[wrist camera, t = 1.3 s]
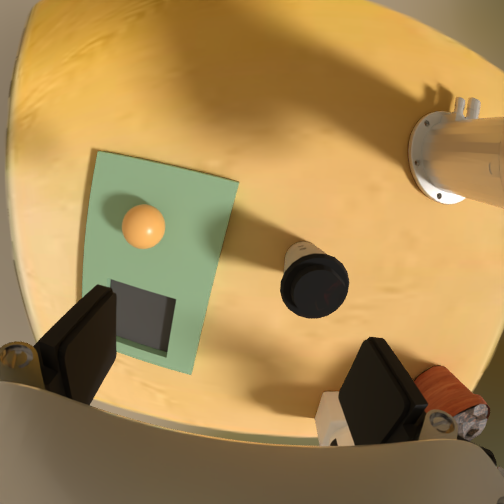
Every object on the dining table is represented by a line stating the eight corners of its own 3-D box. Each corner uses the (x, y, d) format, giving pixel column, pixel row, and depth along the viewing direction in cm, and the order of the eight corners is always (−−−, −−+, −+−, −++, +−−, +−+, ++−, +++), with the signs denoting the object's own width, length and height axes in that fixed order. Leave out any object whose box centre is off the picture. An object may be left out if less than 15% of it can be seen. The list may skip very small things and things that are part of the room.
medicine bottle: (351, 416, 46) (367, 467, 34) (313, 418, 46) (323, 472, 34) (363, 389, 44) (383, 442, 32) (322, 390, 44) (336, 447, 32)
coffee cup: (269, 280, 38) (274, 320, 28) (281, 226, 36) (290, 251, 26) (322, 288, 38) (341, 329, 29) (336, 237, 36) (362, 265, 27)
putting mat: (103, 151, 33) (97, 151, 32) (239, 182, 34) (238, 182, 33) (86, 333, 41) (82, 338, 40) (192, 368, 43) (191, 375, 41)
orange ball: (135, 197, 34) (118, 203, 29) (174, 206, 34) (161, 214, 29) (129, 236, 35) (112, 248, 30) (166, 246, 35) (153, 260, 31)
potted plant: (373, 408, 45) (430, 574, 12) (430, 346, 41) (537, 508, 8) (420, 422, 48) (477, 551, 14) (470, 370, 44) (555, 492, 10)
